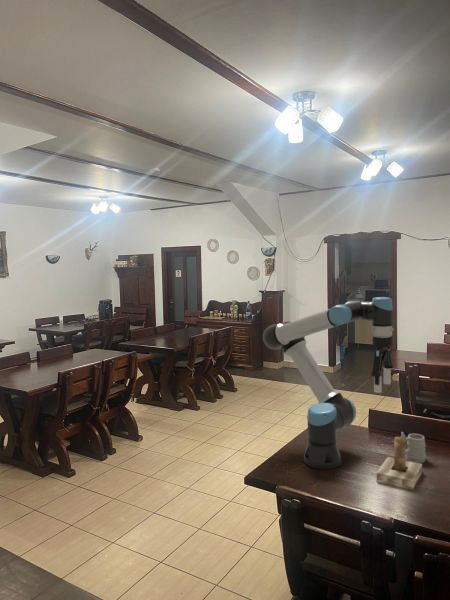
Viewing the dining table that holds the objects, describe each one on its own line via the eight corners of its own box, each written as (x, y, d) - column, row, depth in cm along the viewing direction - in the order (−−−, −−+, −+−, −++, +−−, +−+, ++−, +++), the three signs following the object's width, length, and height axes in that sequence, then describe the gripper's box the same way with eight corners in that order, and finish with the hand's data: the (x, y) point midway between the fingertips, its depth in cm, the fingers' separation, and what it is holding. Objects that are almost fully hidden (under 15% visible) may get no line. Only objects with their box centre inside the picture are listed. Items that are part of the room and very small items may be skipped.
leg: (392, 475, 173) (393, 439, 172) (395, 470, 177) (395, 435, 176) (404, 477, 171) (404, 441, 170) (406, 473, 174) (406, 438, 173)
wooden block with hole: (376, 481, 171) (376, 472, 171) (387, 465, 184) (387, 456, 184) (413, 490, 164) (413, 481, 164) (422, 472, 177) (422, 463, 177)
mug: (430, 462, 185) (430, 434, 184) (402, 464, 184) (402, 436, 183) (420, 454, 193) (420, 427, 192) (393, 456, 192) (393, 429, 191)
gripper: (383, 341, 168) (383, 397, 170) (399, 332, 189) (399, 381, 191) (363, 340, 173) (363, 394, 175) (381, 331, 193) (381, 379, 195)
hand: (382, 388), depth 183 cm, fingers open, 13 cm apart
